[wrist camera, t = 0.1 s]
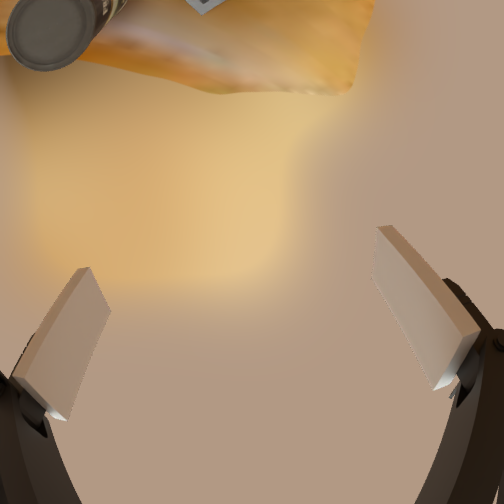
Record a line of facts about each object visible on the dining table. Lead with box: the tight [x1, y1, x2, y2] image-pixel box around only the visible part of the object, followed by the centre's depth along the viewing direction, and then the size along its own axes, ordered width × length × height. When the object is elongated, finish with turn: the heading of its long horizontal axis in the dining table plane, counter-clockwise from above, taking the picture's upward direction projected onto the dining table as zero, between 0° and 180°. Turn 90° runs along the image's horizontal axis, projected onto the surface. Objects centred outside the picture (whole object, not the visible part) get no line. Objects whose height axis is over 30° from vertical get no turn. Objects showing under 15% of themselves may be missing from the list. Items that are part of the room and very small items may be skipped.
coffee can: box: [6, 0, 127, 71], centre depth 17 cm, size 10×10×14 cm
